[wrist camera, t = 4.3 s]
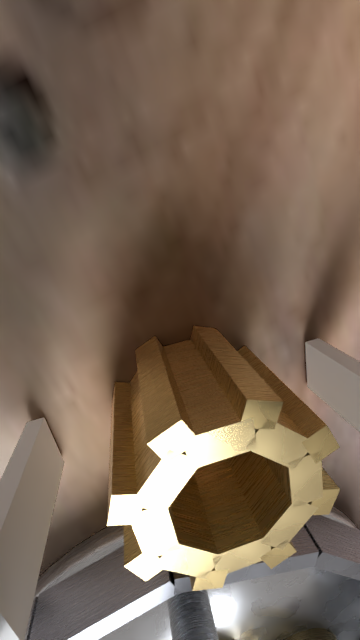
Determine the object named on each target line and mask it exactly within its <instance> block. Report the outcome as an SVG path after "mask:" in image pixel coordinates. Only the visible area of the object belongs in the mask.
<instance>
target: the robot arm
mask: <svg viewBox="0 0 360 640" xmlns="http://www.w3.org/2000/svg"><path fill="white" fill-rule="evenodd" d="M305 350H306V369H307V387H308V388H309V389H310V390H311V391H313V392H314V393H315V394H316V395H317V396H318V397H320V398H321V399H322V400H323V401H324V402H325V403H327V404H328V405H329V406H330V407H331V408H332V409H333V410H335V411H336V412H337V413H338V414H339V415H340V416H342V417H343V418H344V419H345V420H346V421H347V422H349V423H350V424H351V425H352V426H353V427H354V428H355V429H357V430H358V431H359V432H360V362H359V361H358V360H356V359H354V358H352V357H351V356H349V355H347V354H345V353H344V352H342V351H340V350H338V349H337V348H335V347H333V346H331V345H330V344H328V343H326V342H324V341H323V340H321V339H319V338H317V339H314V340H311V341H307V342H305ZM63 466H64V460H63V458H62V456H61V454H60V451H59V449H58V447H57V445H56V443H55V440H54V438H53V436H52V434H51V431H50V429H49V427H48V425H47V422H46V420H45V418H44V417H43V418H40V419H36V420H33V421H29V422H27V423H26V425H25V428H24V430H23V432H22V434H21V436H20V439H19V441H18V443H17V445H16V447H15V449H14V452H13V454H12V456H11V458H10V460H9V462H8V465H7V467H6V469H5V471H4V473H3V476H2V478H1V480H0V640H24V639H25V635H26V630H27V626H28V621H29V617H30V613H31V608H32V604H33V599H34V595H35V590H36V586H37V581H38V577H39V573H40V568H41V564H42V559H43V555H44V550H45V546H46V541H47V537H48V533H49V528H50V524H51V519H52V515H53V510H54V506H55V502H56V497H57V493H58V488H59V484H60V479H61V475H62V470H63Z"/></svg>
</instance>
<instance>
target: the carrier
mask: <svg viewBox="0 0 360 640" xmlns="http://www.w3.org/2000/svg"><path fill="white" fill-rule="evenodd" d="M291 541H292V543H293V545H294V547H295V549H296V551H297V552H296V553H294V554H293V555H291V556H290V557H288V558H287V559H285V560H284V561H283V562H281V563H280V564H278V565H277V566H275V567H274V568H272V569H271V568H270V567H269V566H268V565H267V564H266V563H265V562H264V561H260V562H257V563H255V564H252V565H249V566H247V567H244V568H241V569H239V570H236V571H233V572H231V573H228V574H227V576H226V579H225V582H224V585H223V588H216V589H207V590H198V591H192V588H191V583H190V578H189V575H186V574H181V573H177V572H172V571H168V570H162V571H160V572H159V573H157V574H156V575H155V576H153V577H152V578H150V579H149V580H147V581H144V580H143V579H141V578H140V577H139V576H137V575H136V574H134V573H133V572H131V571H130V570H129V569H127V568H126V567H124V525H112V526H109V527H107V528H105V529H103V530H101V531H100V532H98V533H97V534H95V535H93V536H92V537H90V538H89V539H87V540H85V541H84V542H82V543H81V544H79V545H77V546H76V547H74V548H73V549H72V550H71V551H69V552H68V553H67V554H66V555H64V556H63V557H62V558H60V559H59V560H58V561H57V562H55V563H54V564H53V565H51V566H50V567H49V568H48V569H47V570H46V571H45V572H44V573H43V574H42V575H41V576H40V577H39V578H38V581H37V586H36V590H35V595H34V599H33V604H32V608H31V613H30V617H29V621H28V626H27V630H26V635H25V639H24V640H360V530H358V529H357V527H356V526H355V525H354V524H353V523H352V521H351V520H350V519H349V518H348V517H347V516H346V515H345V514H343V513H342V512H341V511H340V510H338V509H337V508H336V507H334V506H333V507H332V509H331V512H330V514H329V515H312V516H311V517H310V519H309V520H308V521H307V522H306V523H305V524H304V526H303V527H302V528H301V529H300V530H299V531H298V533H297V534H296V535H295V536H294V537H293V538H292V540H291Z"/></svg>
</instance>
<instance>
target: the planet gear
mask: <svg viewBox="0 0 360 640" xmlns="http://www.w3.org/2000/svg"><path fill="white" fill-rule="evenodd" d="M135 353H136V361H137V369H138V371H137V372H136V374H135V375H134V377H133V378H132V380H131V382H130V383H126V382H115V384H114V392H113V399H112V414H111V439H110V463H109V488H108V512H107V526H112V525H124V567H126V568H127V569H129V570H130V571H131V572H133V573H134V574H136V575H137V576H139V577H140V578H141V579H143V580H144V581H147V580H149V579H150V578H152V577H153V576H155V575H156V574H157V573H159V572H160V571H162V570H168V571H172V572H177V573H181V574H186V575H189V578H190V583H191V588H192V591H198V590H207V589H216V588H223V585H224V582H225V579H226V576H227V574H228V573H231V572H233V571H236V570H239V569H241V568H244V567H247V566H249V565H252V564H255V563H257V562H260V561H264V562H265V563H266V564H267V565H268V566H269V567H270V568H271V569H272V568H274V567H275V566H277V565H278V564H280V563H281V562H283V561H284V560H285V559H287V558H288V557H290V556H291V555H293V554H294V553H296V552H297V551H296V549H295V547H294V545H293V543H292V541H291V540H292V538H293V537H294V536H295V535H296V534H297V533H298V531H299V530H300V529H301V528H302V527H303V526H304V524H305V523H306V522H307V521H308V520H309V519H310V517H311V516H312V515H329V514H330V512H331V509H332V507H333V505H334V502H335V500H336V498H337V495H338V493H339V491H340V488H339V487H338V486H337V485H336V484H335V482H334V481H333V480H332V479H331V478H330V476H329V475H328V474H327V473H326V472H325V470H324V469H323V468H322V459H324V458H325V457H326V456H328V455H329V454H331V453H332V452H334V451H335V450H337V449H338V448H339V445H338V443H337V442H336V440H335V438H334V437H333V435H332V433H331V431H330V430H329V428H328V426H327V425H326V424H325V423H324V422H323V421H322V420H321V419H320V418H319V417H318V416H317V415H316V414H315V413H314V412H313V411H312V410H311V409H310V408H309V407H308V406H307V405H306V404H305V403H304V402H302V401H301V400H300V399H299V398H298V397H297V396H296V395H295V394H294V393H293V392H292V391H291V390H290V389H289V388H288V387H287V386H286V385H285V384H284V383H283V382H282V381H281V380H280V379H279V378H278V377H277V376H276V375H275V374H274V373H273V372H272V371H271V370H270V369H269V368H268V367H267V366H265V365H264V364H263V363H262V362H261V361H260V360H259V359H258V358H257V357H256V356H255V355H254V354H253V353H252V352H251V351H250V350H249V349H248V348H247V347H246V346H243V347H242V348H241V349H239V350H238V351H236V350H235V348H234V347H233V346H232V345H231V344H230V343H229V342H228V341H227V340H226V339H225V338H224V337H223V335H222V334H221V333H220V332H219V331H218V330H217V329H216V328H210V327H201V326H193V330H192V335H191V339H190V340H186V341H182V342H179V343H175V344H171V345H168V346H164V347H163V345H162V344H161V343H160V342H159V340H158V339H157V338H156V336H154V337H152V338H151V339H150V340H148V341H147V342H145V343H144V344H143V345H141V346H140V347H139V348H137V349H136V350H135Z"/></svg>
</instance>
